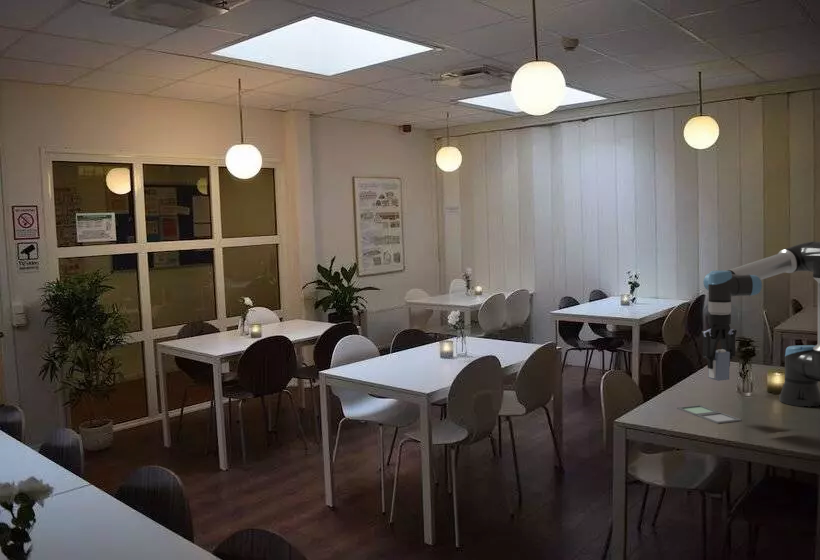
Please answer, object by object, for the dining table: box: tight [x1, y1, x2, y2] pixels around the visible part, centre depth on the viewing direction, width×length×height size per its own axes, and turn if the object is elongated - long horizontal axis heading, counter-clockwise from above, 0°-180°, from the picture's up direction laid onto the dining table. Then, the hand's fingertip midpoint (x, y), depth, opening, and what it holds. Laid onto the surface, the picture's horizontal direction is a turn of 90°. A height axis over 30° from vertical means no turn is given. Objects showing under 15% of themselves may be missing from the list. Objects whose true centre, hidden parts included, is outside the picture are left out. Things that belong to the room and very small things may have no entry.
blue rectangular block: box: [707, 348, 731, 382], centre depth 249 cm, size 5×5×11 cm
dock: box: [676, 404, 742, 425], centre depth 256 cm, size 16×22×2 cm
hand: (718, 376), depth 250 cm, fingers closed on blue rectangular block, 5 cm apart
